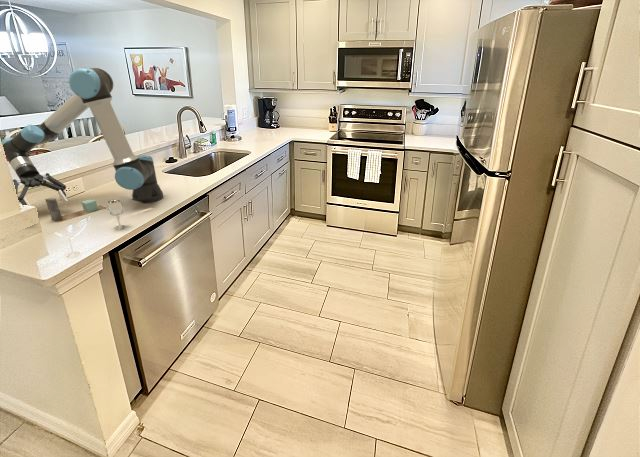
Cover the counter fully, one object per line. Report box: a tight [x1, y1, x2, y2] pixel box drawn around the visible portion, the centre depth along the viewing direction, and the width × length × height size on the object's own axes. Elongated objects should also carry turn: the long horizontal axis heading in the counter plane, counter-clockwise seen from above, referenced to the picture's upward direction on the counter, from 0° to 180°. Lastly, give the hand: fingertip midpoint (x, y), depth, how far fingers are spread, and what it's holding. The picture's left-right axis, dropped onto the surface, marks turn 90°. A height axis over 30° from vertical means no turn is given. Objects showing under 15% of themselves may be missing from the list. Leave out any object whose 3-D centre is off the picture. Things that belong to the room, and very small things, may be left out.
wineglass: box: [106, 199, 127, 230], centre depth 152 cm, size 6×6×12 cm
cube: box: [81, 198, 98, 214], centre depth 169 cm, size 4×4×4 cm
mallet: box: [45, 197, 107, 223], centre depth 165 cm, size 22×7×11 cm, turn 146°
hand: (50, 207), depth 157 cm, fingers open, 13 cm apart
